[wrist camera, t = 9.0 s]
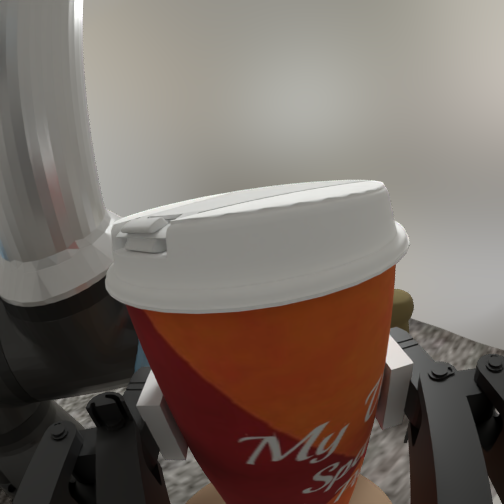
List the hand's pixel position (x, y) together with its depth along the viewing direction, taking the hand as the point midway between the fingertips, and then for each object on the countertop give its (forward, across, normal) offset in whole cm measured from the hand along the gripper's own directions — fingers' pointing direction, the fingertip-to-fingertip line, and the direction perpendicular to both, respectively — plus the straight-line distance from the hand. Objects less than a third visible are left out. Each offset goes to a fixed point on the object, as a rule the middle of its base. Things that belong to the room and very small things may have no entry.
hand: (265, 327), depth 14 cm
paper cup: (-5, 0, -8) cm, 9 cm away
